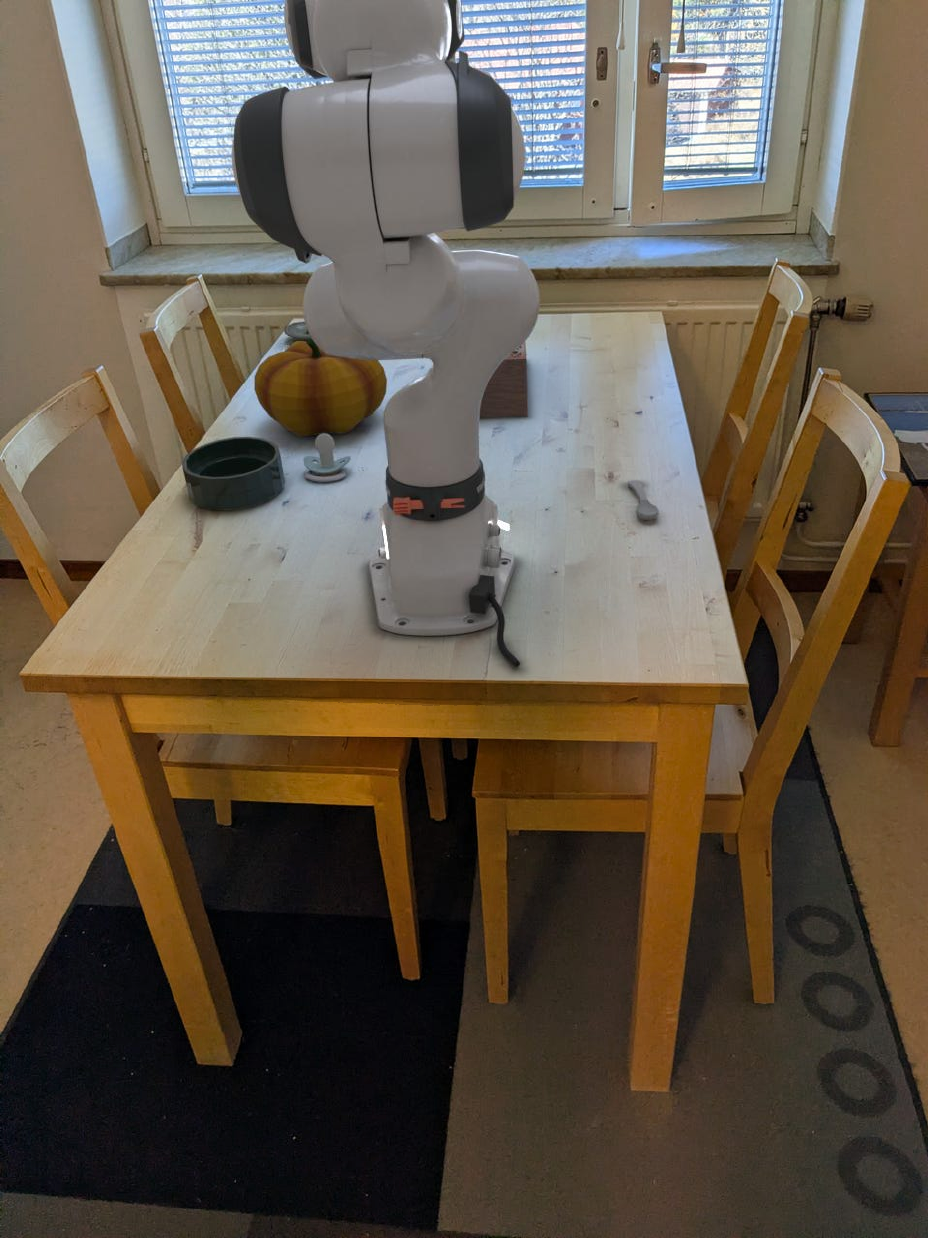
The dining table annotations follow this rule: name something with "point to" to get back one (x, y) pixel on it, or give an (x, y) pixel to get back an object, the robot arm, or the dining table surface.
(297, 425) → the decorative pumpkin
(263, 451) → the bowl
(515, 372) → the tissue box cover
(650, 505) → the spoon
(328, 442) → the pacifier
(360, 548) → the dining table surface
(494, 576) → the robot arm
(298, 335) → the lid
